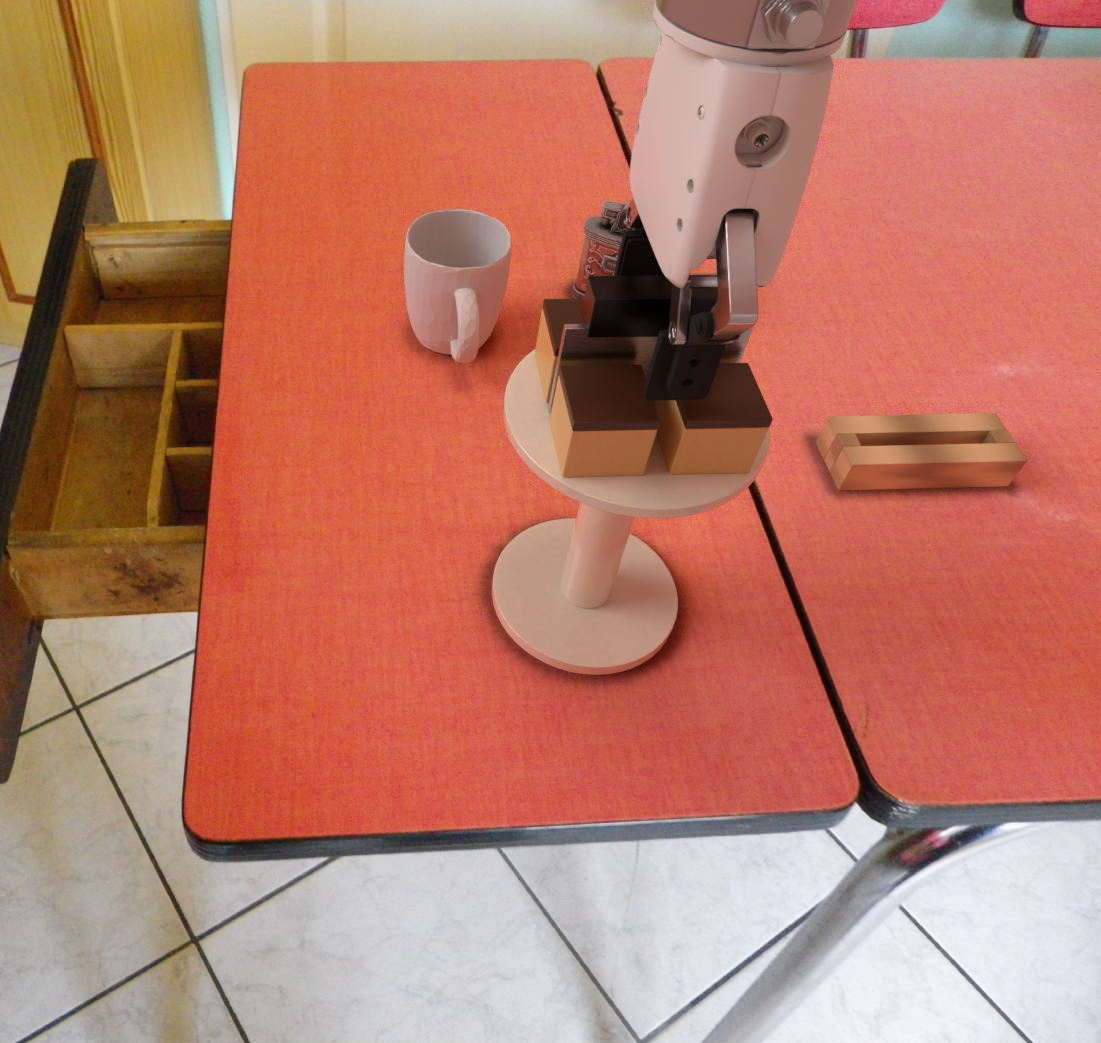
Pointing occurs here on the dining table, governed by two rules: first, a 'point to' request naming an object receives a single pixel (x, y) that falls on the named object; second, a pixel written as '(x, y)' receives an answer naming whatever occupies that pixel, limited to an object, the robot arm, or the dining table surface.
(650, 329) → the knife
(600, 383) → the cake
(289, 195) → the dining table surface
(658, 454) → the cake stand
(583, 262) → the lighter
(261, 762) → the dining table surface
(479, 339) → the mug
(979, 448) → the knife block
